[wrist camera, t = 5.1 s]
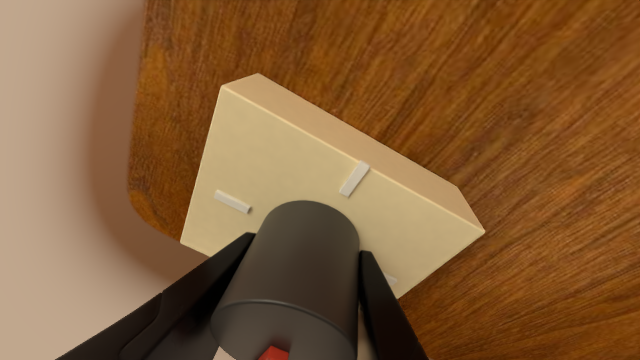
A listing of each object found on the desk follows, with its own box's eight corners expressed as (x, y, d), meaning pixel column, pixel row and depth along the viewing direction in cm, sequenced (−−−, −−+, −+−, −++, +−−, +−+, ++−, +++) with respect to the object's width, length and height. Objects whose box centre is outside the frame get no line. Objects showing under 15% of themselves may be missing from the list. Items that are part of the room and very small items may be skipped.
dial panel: (459, 185, 11) (491, 234, 8) (360, 278, 15) (360, 331, 12) (258, 69, 10) (218, 81, 7) (212, 206, 14) (176, 247, 11)
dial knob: (284, 181, 8) (224, 290, 5) (380, 230, 9) (392, 364, 5) (249, 246, 11) (189, 358, 7) (329, 284, 11) (312, 407, 7)
